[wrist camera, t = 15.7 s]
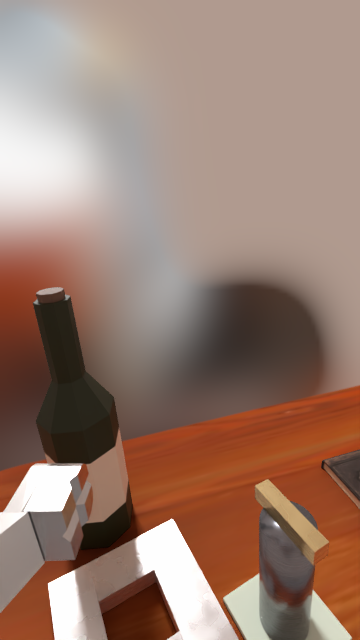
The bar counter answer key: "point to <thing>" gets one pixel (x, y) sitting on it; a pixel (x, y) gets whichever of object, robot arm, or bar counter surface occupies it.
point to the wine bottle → (81, 422)
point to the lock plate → (139, 589)
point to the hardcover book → (346, 473)
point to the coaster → (243, 606)
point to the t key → (286, 564)
